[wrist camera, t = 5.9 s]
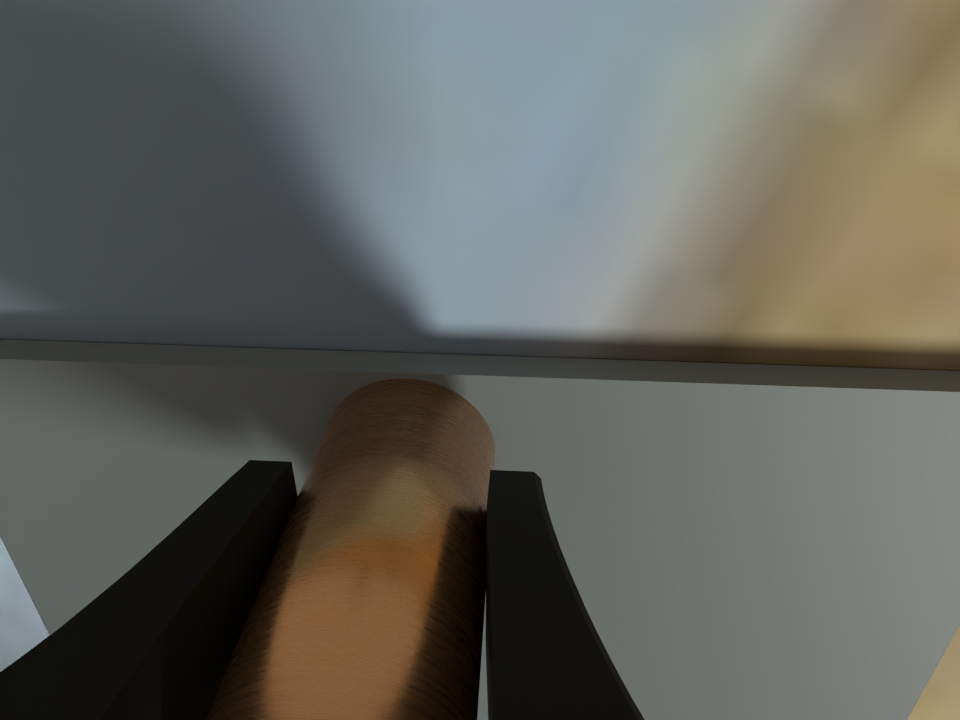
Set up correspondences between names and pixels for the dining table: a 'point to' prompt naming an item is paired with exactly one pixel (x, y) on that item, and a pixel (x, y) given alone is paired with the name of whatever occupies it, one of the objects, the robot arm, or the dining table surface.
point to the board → (557, 499)
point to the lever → (375, 570)
